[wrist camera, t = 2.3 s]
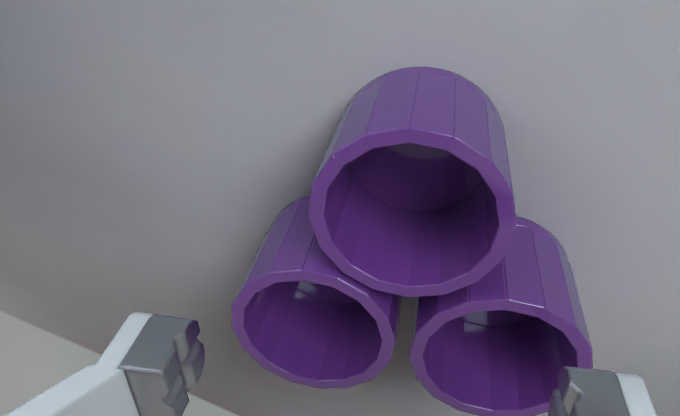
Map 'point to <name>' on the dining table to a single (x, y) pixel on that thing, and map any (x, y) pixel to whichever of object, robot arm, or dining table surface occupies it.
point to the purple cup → (311, 311)
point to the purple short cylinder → (415, 185)
